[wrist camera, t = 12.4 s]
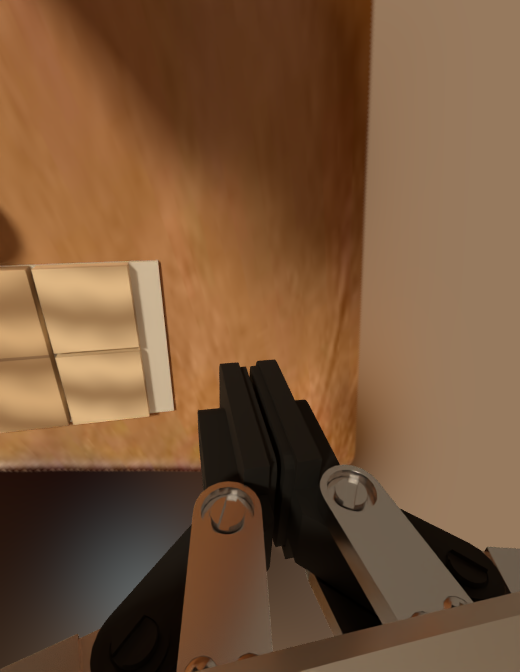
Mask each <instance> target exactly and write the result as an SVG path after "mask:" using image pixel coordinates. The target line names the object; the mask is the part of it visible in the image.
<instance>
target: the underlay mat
mask: <svg viewBox="0 0 520 672" xmlns="http://www.w3.org/2000/svg"><path fill="white" fill-rule="evenodd" d="M123 262H128V264H129V271H130V278H131V284H132V291H133V298H134V305H135V312H136V319H137V325H138V332H139V339H140V344H139V346H141V353H142V359H143V366H144V373H145V380H146V387H147V394H148V400H149V407H150V413H156V412H165V411H174V404H173V394H172V385H171V376H170V367H169V358H168V348H167V339H166V330H165V321H164V312H163V302H162V293H161V284H160V275H159V266H158V260H147V261H118V262H90V263H62V264H34V265H6V266H0V267H13V266H30V269H33V268H34V267H35V266H40V265H68V264H95V263H123ZM31 273H32V271H31ZM32 276H33V274H32ZM33 280H34V278H33ZM34 284H35V282H34ZM35 287H36V285H35ZM36 291H37V289H36ZM37 295H38V293H37ZM38 298H39V296H38ZM39 302H40V300H39ZM40 306H41V304H40ZM41 309H42V307H41ZM42 313H43V311H42ZM43 317H44V315H43ZM44 320H45V318H44ZM45 324H46V322H45ZM46 328H47V326H46ZM47 331H48V329H47ZM48 335H49V333H48ZM49 339H50V337H49ZM50 342H51V340H50ZM51 346H52V344H51ZM52 350H53V348H52ZM53 353H54V351H53ZM57 354H58V353H56V354H54V357H55V358H56V356H57ZM55 361H56V359H55ZM56 364H57V362H56ZM57 368H58V366H57ZM58 372H59V370H58ZM59 375H60V373H59ZM60 379H61V377H60ZM61 383H62V381H61ZM62 386H63V384H62ZM63 390H64V388H63ZM64 394H65V392H64ZM65 397H66V395H65ZM66 401H67V399H66ZM67 405H68V403H67ZM68 408H69V406H68ZM69 412H70V410H69ZM70 416H71V414H70ZM70 422H73V421H72V417H71V420H70Z"/></svg>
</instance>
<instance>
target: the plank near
mask: <svg viewBox="0 0 520 672" xmlns="http://www.w3.org/2000/svg"><path fill="white" fill-rule="evenodd" d="M31 271H32V274H33V278H34V282H35V285H36V289H37V293H38V296H39V300H40V304H41V307H42V311H43V315H44V318H45V322H46V326H47V329H48V333H49V337H50V340H51V344H52V348H53V351H54V354H56V353H69V352H82V351H94V350H107V349H120V348H133V347H139V344H140V339H139V332H138V325H137V319H136V312H135V305H134V298H133V291H132V284H131V278H130V271H129V264H128V262H123V263H95V264H68V265H40V266H35V267H34V268H33V269H31Z"/></svg>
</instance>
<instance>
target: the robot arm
mask: <svg viewBox="0 0 520 672" xmlns="http://www.w3.org/2000/svg"><path fill="white" fill-rule="evenodd" d="M219 378H220V408H217V409H207V410H198V433H199V448H200V460H201V470H202V479H203V490H204V491H203V492H202V493H201V494H200V496H199V497H198V499H197V500H196V503H195V506H194V510H193V519H192V525H191V526H190V527H189V528H188V529H187V530H186V531H185V532H184V534H183V535H182V536H181V537H180V538H179V539H178V541H176V542H175V544H174V545H173V546H172V547H171V548H170V549H169V550H168V552H167V553H166V554H165V555H164V556H163V557H162V558H161V559H160V560H159V562H158V563H157V564H156V565H155V566H154V567H153V568H152V569H151V570H150V572H149V573H148V574H147V575H146V576H145V577H144V578H143V580H142V581H141V582H140V583H139V584H138V585H137V586H136V587H135V588H134V590H133V591H132V592H131V593H130V594H129V595H128V596H127V598H126V599H125V600H124V601H123V602H122V603H121V604H120V605H119V606H118V607H117V609H116V610H115V611H114V612H113V613H112V614H111V615H110V616H109V618H108V619H107V620H106V622H105V623H104V625H103V626H102V627H101V629H99V630H97V631H94V632H92V633H91V634H88V635H86V636H84V637H82V638H79V636H78V634H76V635H74V636H72V637H70V638H67V639H65V640H63V641H61V642H59V643H56V644H54V645H52V646H50V647H48V648H46V649H43V650H41V651H39V652H37V653H35V654H32V655H30V656H28V657H26V658H24V659H22V660H19V661H17V662H15V663H13V664H11V665H8V666H6V667H4V668H2V669H0V672H520V549H516V548H497V547H487V548H486V549H485V551H481V550H479V549H478V548H476V547H474V546H473V545H471V544H470V543H468V542H466V541H464V540H462V539H460V538H458V537H456V536H454V535H451V534H450V533H448V532H445V531H444V530H442V529H440V528H438V527H436V526H434V525H432V524H429V523H428V522H426V521H423V520H422V519H420V518H418V517H416V516H414V515H412V514H410V513H408V512H406V511H404V510H402V509H400V508H399V507H398V506H397V505H396V503H395V502H394V501H393V500H392V498H391V497H390V496H389V495H388V493H387V492H386V491H385V490H384V488H383V487H382V486H381V484H380V483H379V482H378V481H377V480H376V479H375V478H374V477H373V476H372V475H371V474H370V473H368V472H366V471H365V470H363V469H361V468H358V467H355V466H351V465H340V464H339V462H338V460H337V458H336V456H335V454H334V452H333V450H332V449H331V447H330V445H329V443H328V441H327V439H326V437H325V435H324V433H323V431H322V429H321V427H320V425H319V423H318V421H317V419H316V417H315V415H314V414H313V412H312V410H311V408H310V406H309V404H308V402H307V401H306V400H294V398H293V396H292V393H291V391H290V389H289V387H288V385H287V383H286V381H285V378H284V376H283V374H282V372H281V370H280V368H279V366H278V364H277V362H276V360H264V361H257V362H256V366H251V367H250V378H249V375H248V372H247V369H246V367H240V366H239V363H225V364H220V367H219ZM272 538H273V542H274V545H275V546H276V547H278V546H282V549H283V553H284V556H285V559H288V558H294V560H295V562H296V563H297V564H299V565H300V566H302V567H303V568H305V569H306V575H307V579H308V582H309V584H310V586H311V588H312V590H313V592H314V595H315V597H316V599H317V601H318V603H319V605H320V608H321V610H322V612H323V614H324V616H325V618H326V620H327V623H328V625H329V627H330V629H331V631H332V634H333V635H334V637H331V638H327V639H323V640H319V641H315V642H311V643H307V644H302V645H298V646H295V647H290V648H287V649H283V650H279V651H275V652H273V649H272V636H271V623H270V610H269V597H268V584H267V571H268V569H269V567H270V557H271V547H272Z"/></svg>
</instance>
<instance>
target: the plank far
mask: <svg viewBox="0 0 520 672" xmlns="http://www.w3.org/2000/svg"><path fill="white" fill-rule="evenodd" d="M55 359H56V362H57V366H58V370H59V373H60V377H61V381H62V384H63V388H64V392H65V395H66V399H67V403H68V406H69V410H70V414H71V417H72V421H73V425H77V424H86V423H95V422H104V421H112V420H121V419H130V418H139V417H148V416H149V414H150V407H149V400H148V394H147V387H146V380H145V373H144V366H143V359H142V353H141V346H139V347H133V348H120V349H107V350H94V351H82V352H69V353H58V354H57V356H56V358H55Z"/></svg>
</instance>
